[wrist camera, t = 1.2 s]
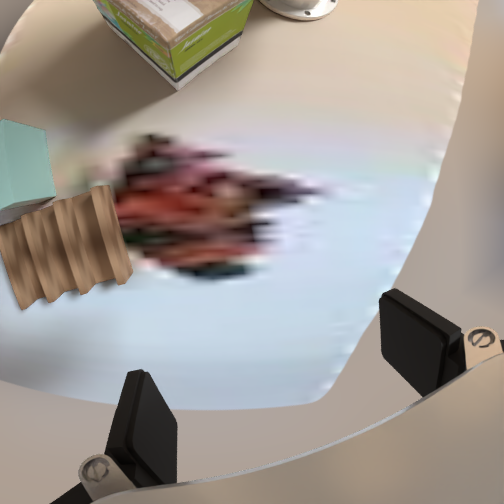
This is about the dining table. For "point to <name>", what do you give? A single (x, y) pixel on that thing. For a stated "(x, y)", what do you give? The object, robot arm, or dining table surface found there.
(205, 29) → the tea box
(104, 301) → the dining table surface
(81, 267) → the rack
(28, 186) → the mint green block
